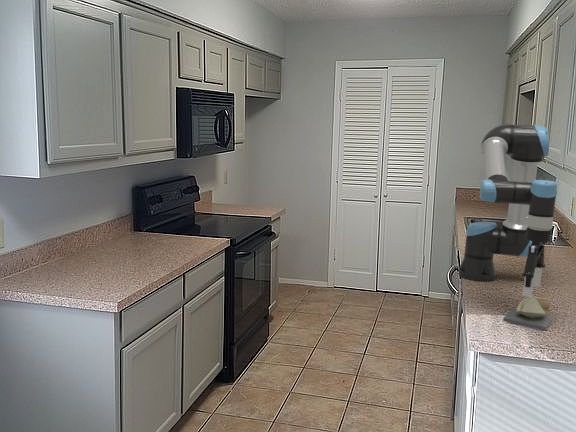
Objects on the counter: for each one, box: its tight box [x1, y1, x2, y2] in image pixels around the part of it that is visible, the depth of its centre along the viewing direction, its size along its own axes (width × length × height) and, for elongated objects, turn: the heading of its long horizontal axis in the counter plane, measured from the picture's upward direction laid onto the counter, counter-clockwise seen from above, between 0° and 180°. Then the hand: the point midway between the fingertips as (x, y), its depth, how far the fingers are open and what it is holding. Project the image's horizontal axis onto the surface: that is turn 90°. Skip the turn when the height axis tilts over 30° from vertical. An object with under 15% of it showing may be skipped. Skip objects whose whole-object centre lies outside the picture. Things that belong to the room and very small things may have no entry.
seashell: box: [516, 294, 546, 318], centre depth 190 cm, size 8×8×8 cm
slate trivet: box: [502, 307, 554, 331], centre depth 190 cm, size 13×13×1 cm
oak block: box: [534, 296, 550, 315], centre depth 198 cm, size 5×5×5 cm
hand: (531, 291), depth 189 cm, fingers open, 13 cm apart
